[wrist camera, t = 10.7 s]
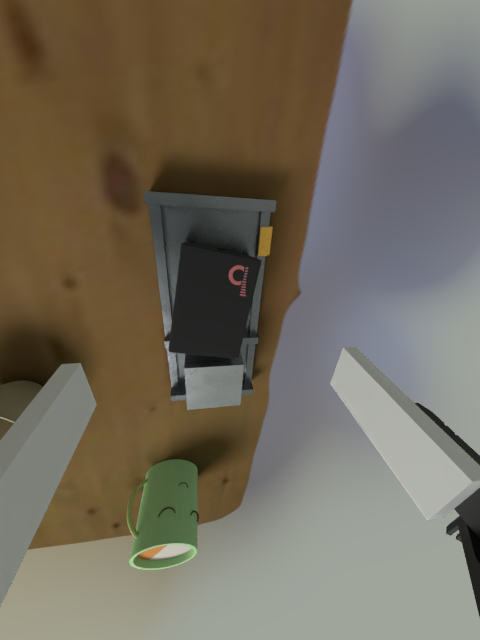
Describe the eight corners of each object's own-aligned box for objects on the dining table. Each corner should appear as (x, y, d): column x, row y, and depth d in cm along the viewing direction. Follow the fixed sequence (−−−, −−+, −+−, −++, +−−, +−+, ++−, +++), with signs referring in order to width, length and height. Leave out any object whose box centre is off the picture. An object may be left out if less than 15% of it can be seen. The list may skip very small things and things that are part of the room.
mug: (208, 464, 45) (211, 544, 35) (180, 490, 48) (175, 570, 38) (151, 449, 40) (135, 538, 29) (124, 479, 43) (100, 569, 32)
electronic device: (172, 332, 26) (168, 352, 22) (184, 241, 23) (181, 243, 19) (232, 339, 28) (238, 359, 24) (250, 255, 25) (262, 260, 20)
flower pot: (70, 371, 29) (35, 417, 23) (70, 420, 33) (41, 471, 27) (-26, 359, 26) (-96, 408, 20) (-13, 414, 30) (-68, 470, 24)
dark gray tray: (149, 191, 21) (134, 189, 16) (273, 200, 23) (293, 201, 18) (173, 388, 33) (168, 419, 29) (252, 381, 35) (260, 410, 31)
